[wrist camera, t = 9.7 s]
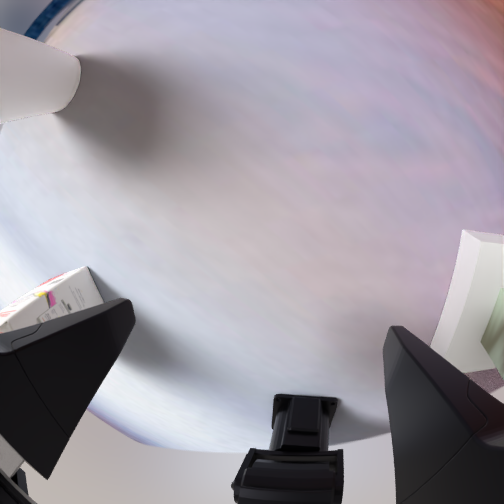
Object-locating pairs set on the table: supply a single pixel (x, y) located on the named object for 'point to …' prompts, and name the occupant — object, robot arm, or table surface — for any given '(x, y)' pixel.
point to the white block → (471, 301)
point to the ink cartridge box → (52, 300)
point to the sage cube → (496, 334)
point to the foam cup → (34, 77)
